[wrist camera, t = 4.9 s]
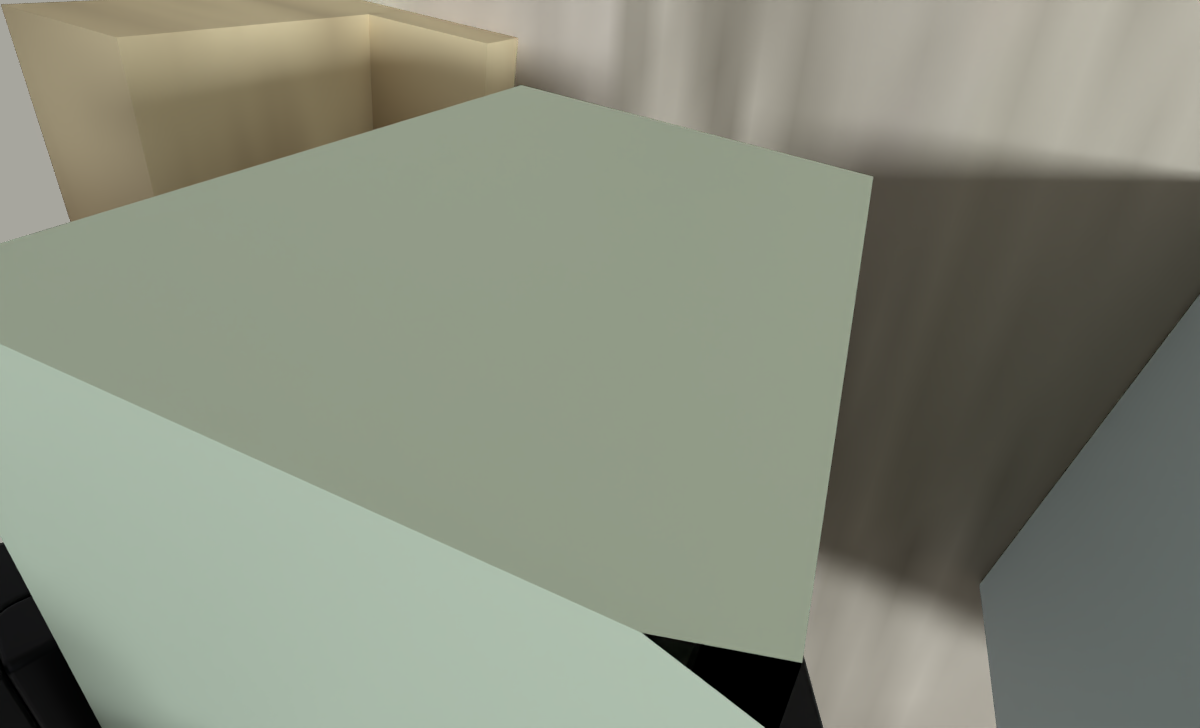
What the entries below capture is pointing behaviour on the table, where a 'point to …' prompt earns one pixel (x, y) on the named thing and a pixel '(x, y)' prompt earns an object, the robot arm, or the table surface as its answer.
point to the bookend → (230, 84)
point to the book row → (1110, 569)
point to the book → (437, 427)
